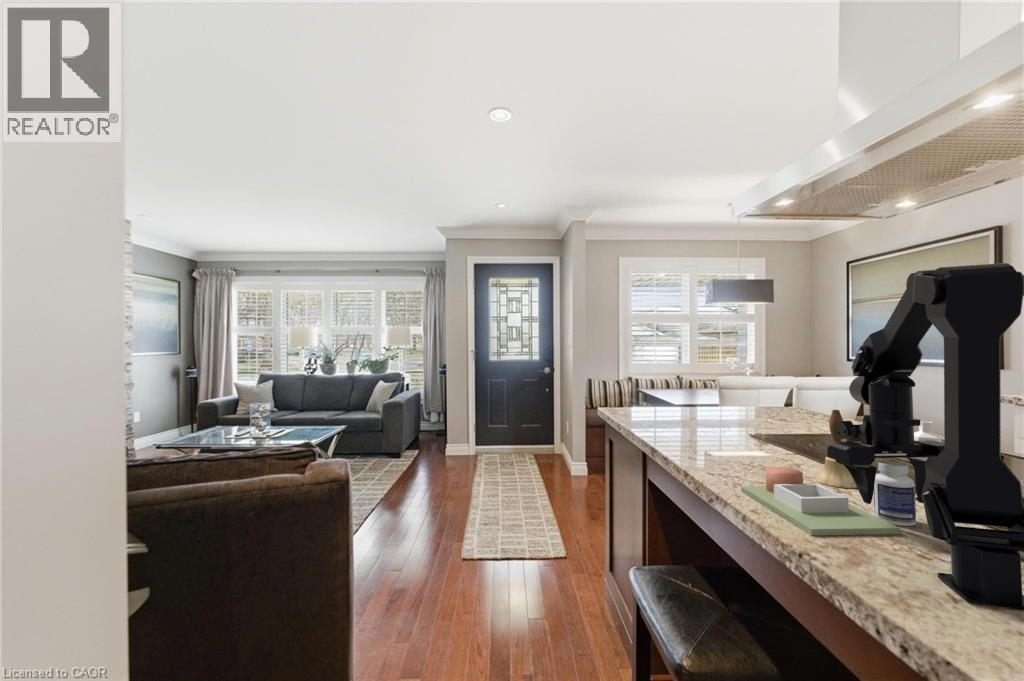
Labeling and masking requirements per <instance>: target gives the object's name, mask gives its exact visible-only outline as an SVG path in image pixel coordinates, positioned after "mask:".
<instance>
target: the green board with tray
mask: <svg viewBox="0 0 1024 681" xmlns="http://www.w3.org/2000/svg"><path fill="white" fill-rule="evenodd" d="M740 491H741V493H743V494H745V495H747V496H748V497H749V498H751V499H752V500H754V501H755V502H757V503H759V504H761V505H762V506H764V507H765V508H766V509H769V510H770V511H772V512H773V513H775V514H777V515H778V516H779V517H782V518H783V519H784V520H786V521H788V522H789V523H791V524H792V525H794V526H795V527H797V528H799V529H801V530H802V531H803V532H805V533H807V534H808V535H810V536H864V535H865V536H866V535H871V536H872V535H901V527H900V526H898V525H893V524H891V523H888V522H886V521H884V520H882V519H880V518H878V517H875V515H873V514H871V513H869V512H866V511H865V510H863V509H860V508H859V507H856V506H854V505H852V504H849V497H848V496H845V495H843V494H841V493H838V492H836V491H834V490H832V489H829V488H827V487H825V486H823V485H822V484H818V483H804V473H803V472H802V471H801V470H799V469H795V468H790V467H785V466H784V467H782V466H770V467H766V468H765V485H758V486H757V485H753V486H751V485H750V486H747V485H745V486H741V487H740Z"/></svg>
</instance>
